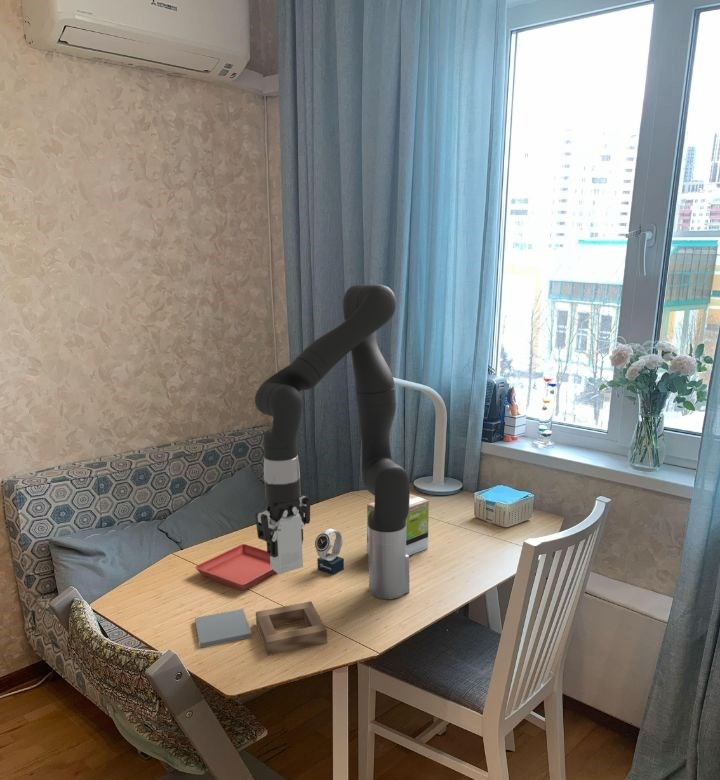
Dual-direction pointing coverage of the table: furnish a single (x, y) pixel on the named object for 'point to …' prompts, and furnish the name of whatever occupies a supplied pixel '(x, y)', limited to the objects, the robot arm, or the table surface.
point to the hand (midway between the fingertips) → (285, 550)
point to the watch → (327, 560)
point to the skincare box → (288, 545)
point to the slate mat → (222, 628)
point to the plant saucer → (238, 567)
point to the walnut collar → (294, 638)
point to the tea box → (413, 524)
